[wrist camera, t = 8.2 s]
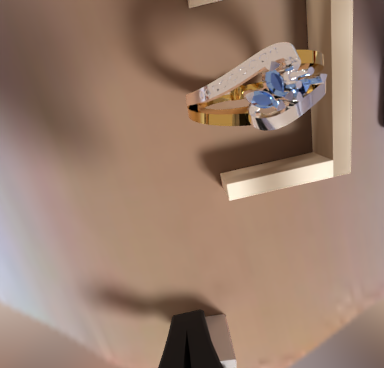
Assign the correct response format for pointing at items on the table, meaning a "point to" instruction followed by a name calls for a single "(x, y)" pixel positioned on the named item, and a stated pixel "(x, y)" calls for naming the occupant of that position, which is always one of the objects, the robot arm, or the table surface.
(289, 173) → the keeper
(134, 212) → the table surface
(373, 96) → the table surface
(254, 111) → the ring
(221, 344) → the lighter
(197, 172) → the table surface
